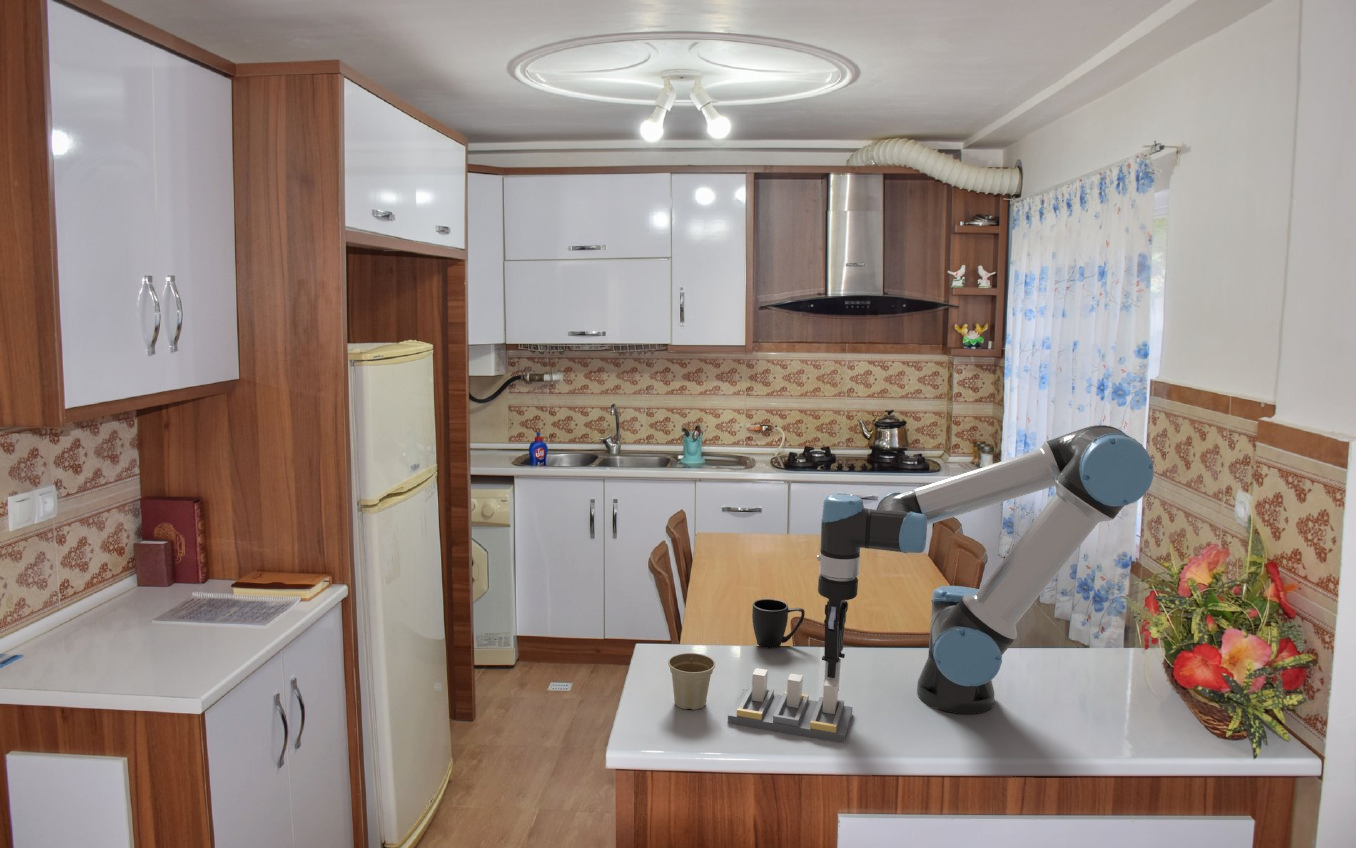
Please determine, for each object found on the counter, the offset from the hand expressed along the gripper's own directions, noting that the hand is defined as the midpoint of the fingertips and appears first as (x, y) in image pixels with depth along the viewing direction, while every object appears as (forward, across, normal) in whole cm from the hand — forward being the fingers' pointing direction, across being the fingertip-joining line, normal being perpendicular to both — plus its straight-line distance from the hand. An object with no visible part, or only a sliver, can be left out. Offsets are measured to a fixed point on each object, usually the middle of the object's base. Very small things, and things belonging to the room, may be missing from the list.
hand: (831, 690), depth 178 cm
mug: (+5, -29, -17) cm, 34 cm away
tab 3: (+3, +3, 0) cm, 4 cm away
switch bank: (+4, +6, -7) cm, 10 cm away
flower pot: (+5, +7, -27) cm, 28 cm away
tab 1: (+3, +3, -14) cm, 14 cm away
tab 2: (+3, +3, -7) cm, 8 cm away
